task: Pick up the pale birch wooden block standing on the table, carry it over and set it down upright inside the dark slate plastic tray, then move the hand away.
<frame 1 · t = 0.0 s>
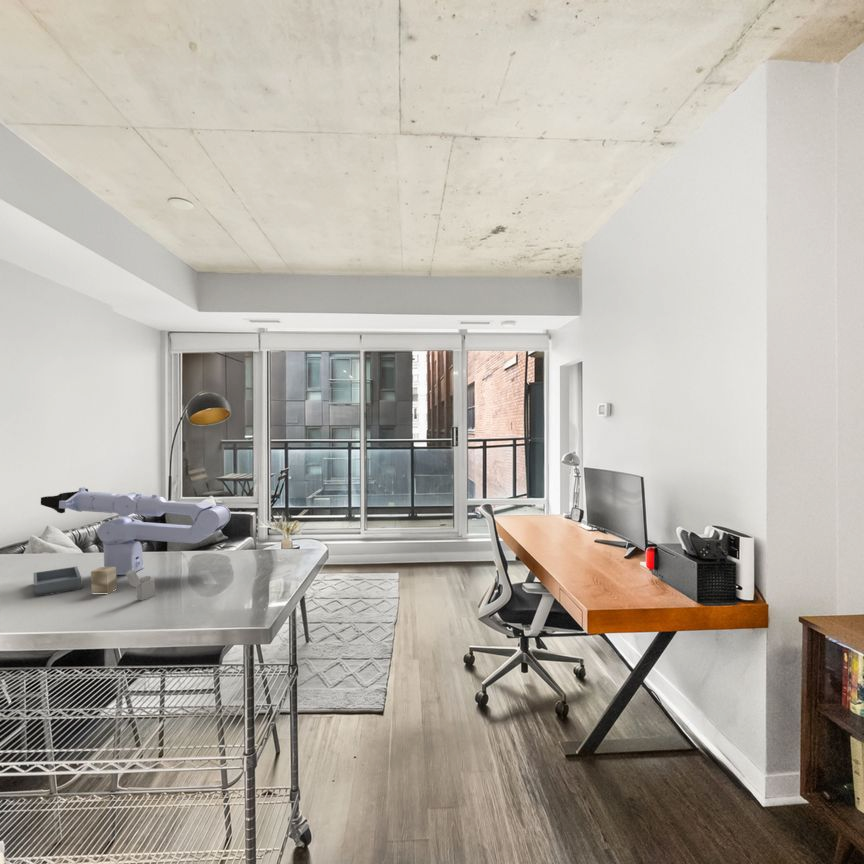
hand: (51, 498, 158), 22 cm above the table, tool horizontal, fingers open, 7 cm apart
lighter: (141, 600, 133), on the table
tray: (57, 586, 145), on the table
block: (104, 592, 140), on the table
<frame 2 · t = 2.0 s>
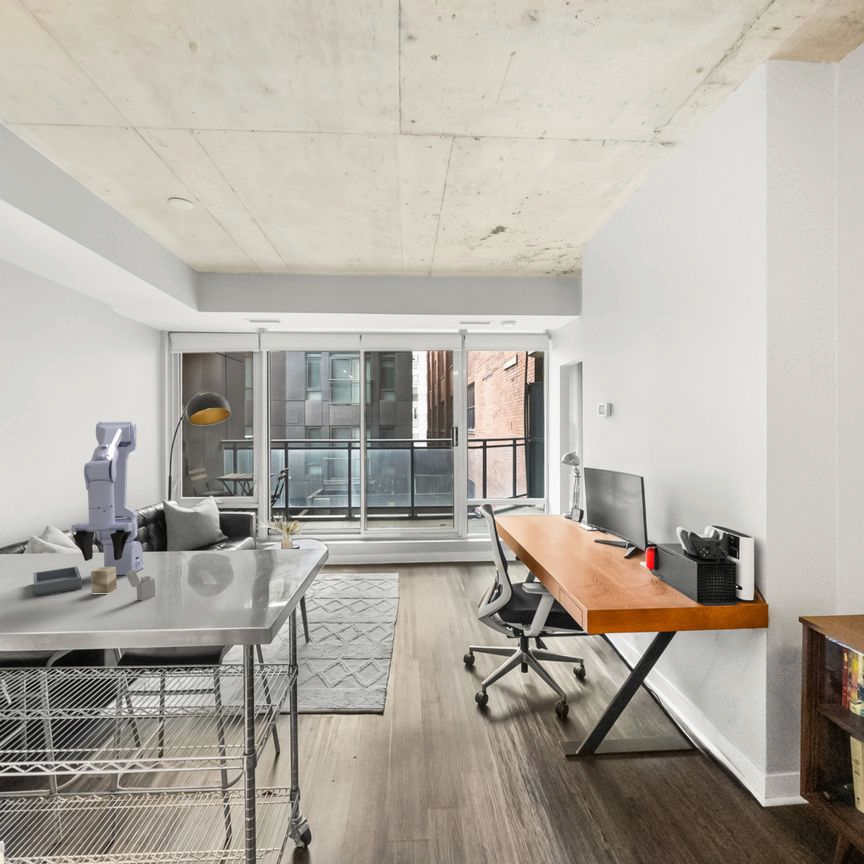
hand: (103, 559, 139), 8 cm above the table, tool pointing down, fingers open, 7 cm apart
nothing on the table moved.
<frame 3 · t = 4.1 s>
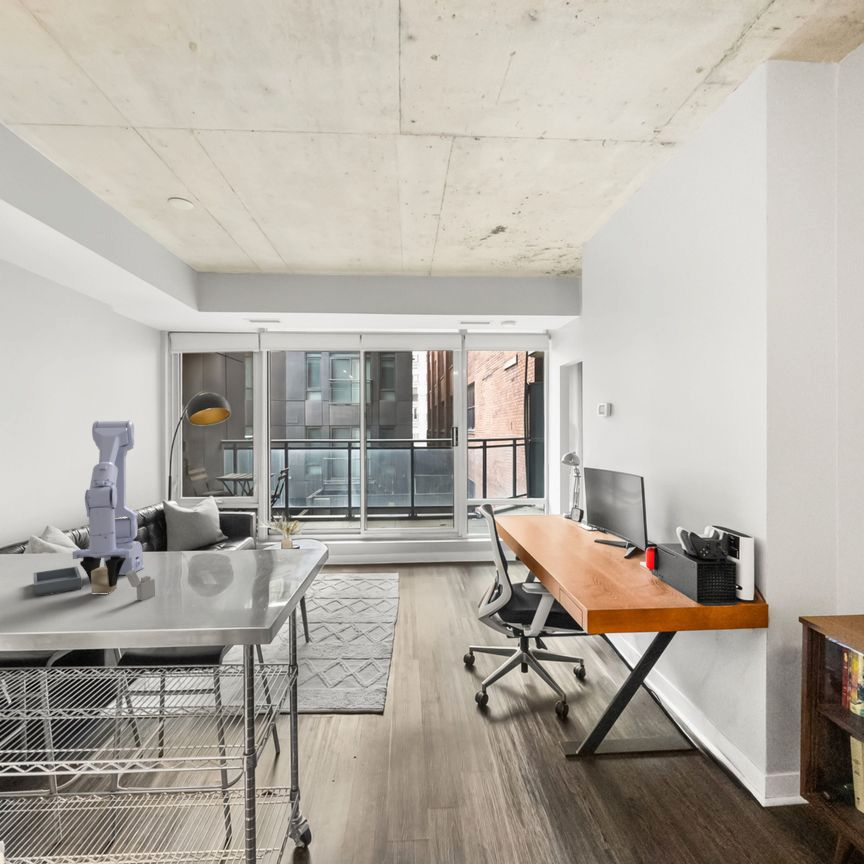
hand: (104, 585, 140), 2 cm above the table, tool pointing down, fingers closed on block, 4 cm apart
block: (104, 591, 140), on the table, touching gripper
everything else where it was.
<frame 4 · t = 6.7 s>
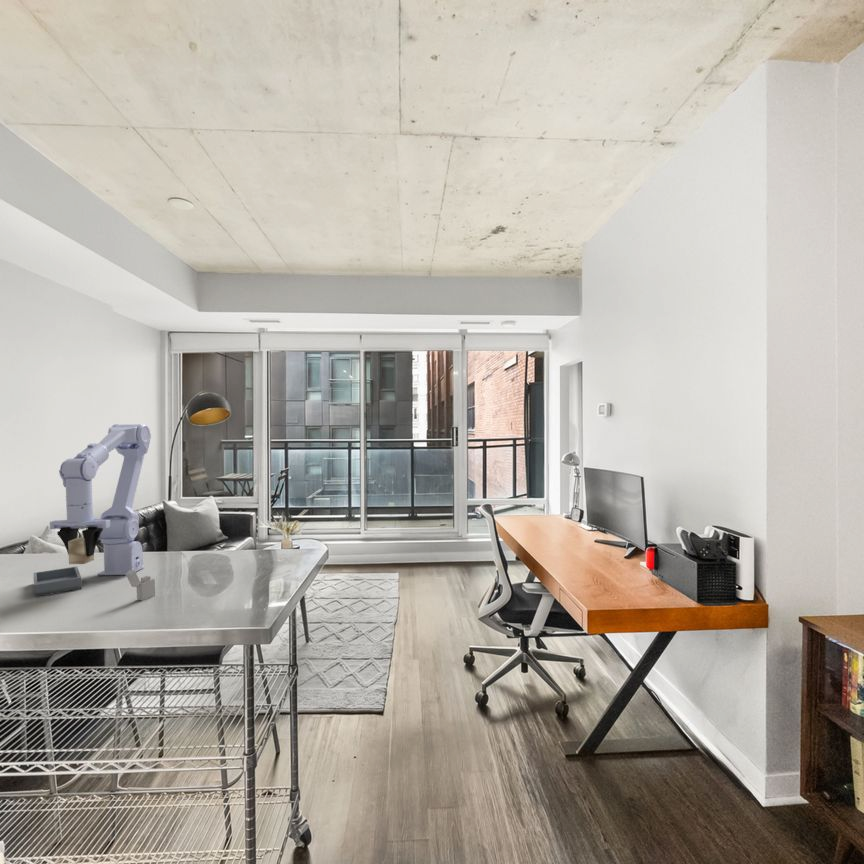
hand: (81, 555, 142), 9 cm above the table, tool pointing down, fingers closed on block, 4 cm apart
block: (81, 562, 142), point 7 cm above the table, touching gripper
everything else where it was.
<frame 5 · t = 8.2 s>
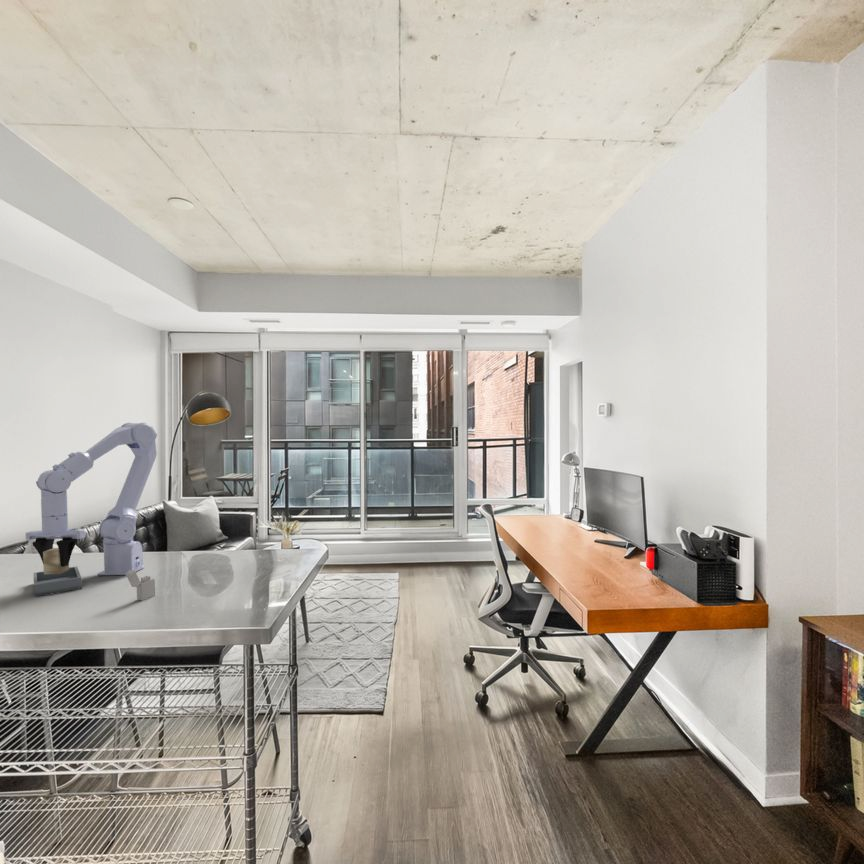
hand: (56, 565, 145), 6 cm above the table, tool pointing down, fingers closed on block, 4 cm apart
block: (56, 572, 145), point 4 cm above the table, touching gripper
everything else where it was.
when the fingers open (4 cm above the table, at t = 9.4 s): block drops 1 cm, resting on tray.
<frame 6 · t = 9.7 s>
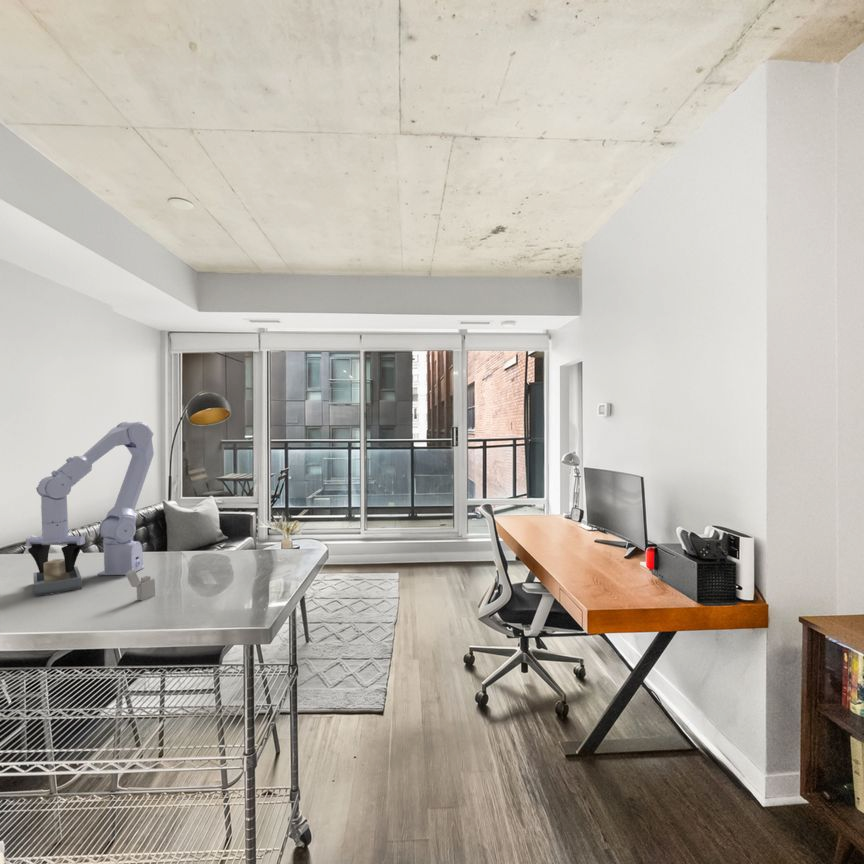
hand: (56, 571, 145), 4 cm above the table, tool pointing down, fingers open, 6 cm apart
block: (57, 583, 145), point 1 cm above the table, touching tray
everything else where it was.
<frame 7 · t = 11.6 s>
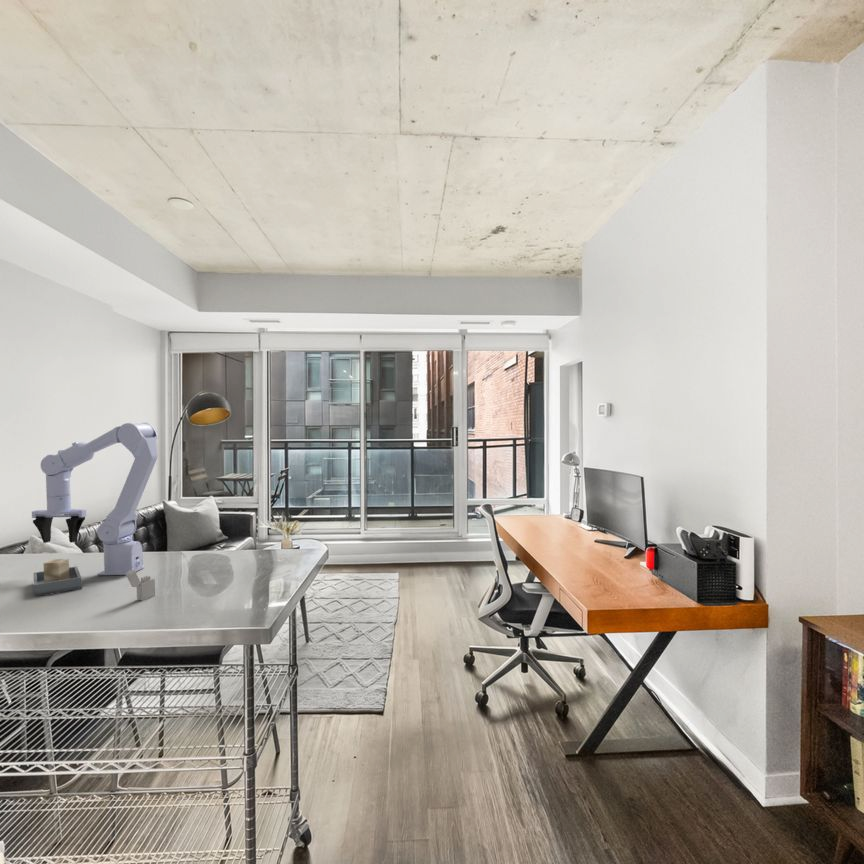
hand: (60, 541, 158), 9 cm above the table, tool pointing down, fingers open, 7 cm apart
nothing on the table moved.
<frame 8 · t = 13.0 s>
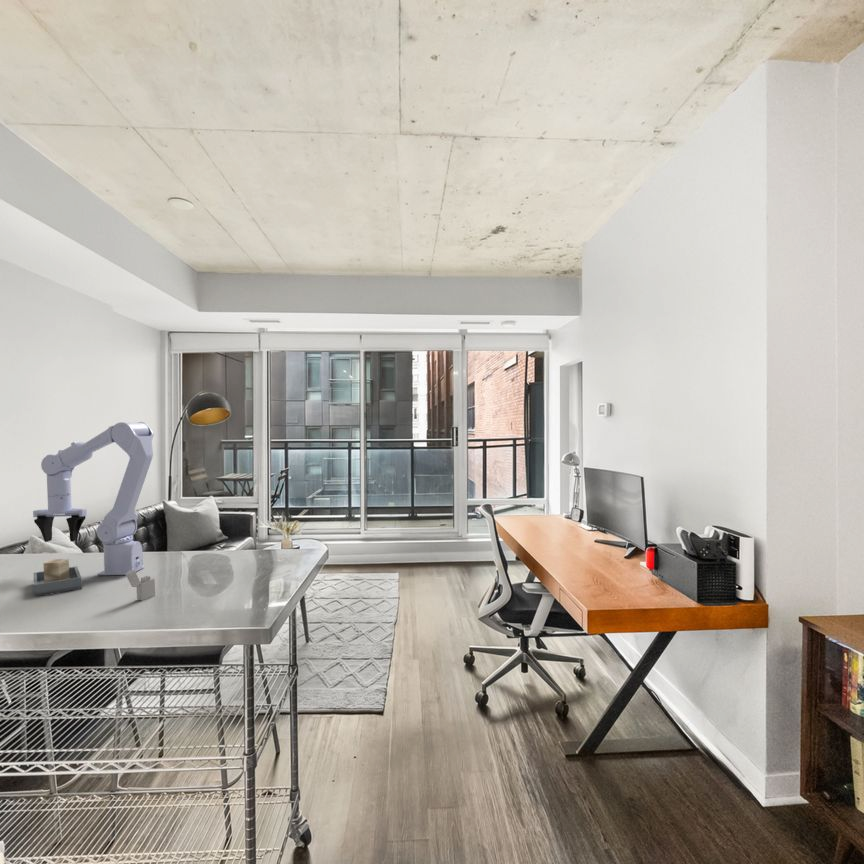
hand: (60, 540, 160), 9 cm above the table, tool pointing down, fingers open, 7 cm apart
nothing on the table moved.
at the end: block inside the target area on the tray (0.0 cm from its centre), point 0.8 cm above the tray's base; block tilted 0°; the gripper is holding nothing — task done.
